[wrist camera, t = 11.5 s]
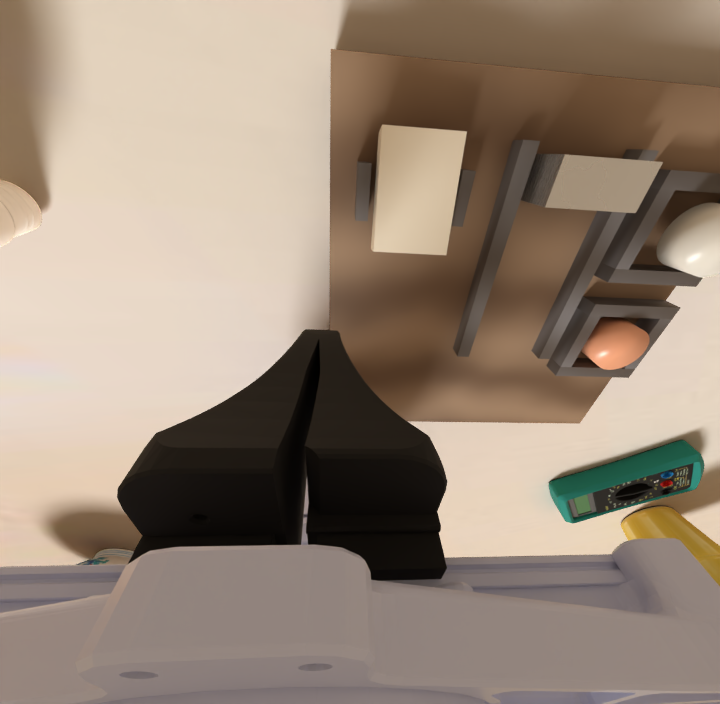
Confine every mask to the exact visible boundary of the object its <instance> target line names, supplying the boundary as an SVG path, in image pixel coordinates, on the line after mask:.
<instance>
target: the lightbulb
mask: <svg viewBox="0 0 720 704" xmlns="http://www.w3.org/2000/svg"><path fill="white" fill-rule="evenodd" d="M41 223H42V214H41V210H40V208H39V206H38V204H37V203H36V201H35V200H34V199H33V198H32V197H31V196H30V195H29V194H28V193H27V192H26V191H24V190H23V189H22V188H20V187H19V186H17V185H15V184H13V183H10V182H8V181H4V180H0V247H2V246H4V245H6V244H8V243H9V242H10V241H11V240H12V239H13V237H17V236H20V235H22V234H26V233H28V232H30V231H33V230H35V229H37V228H38V227H39V226H40V225H41Z"/></svg>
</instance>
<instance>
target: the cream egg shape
mask: <svg viewBox="0 0 720 704" xmlns="http://www.w3.org/2000/svg"><path fill="white" fill-rule="evenodd" d="M657 258H658V260H659V261H660V262H661V263H662V264H664V265H666V266H669V267H672V268H675V269H677V270H680V271H683V272H686V273H688V274H691V275H694V276H697V277H701V278H707V277H713V276H717V275H720V203H713V202H712V203H703V204H700V205H697V206H694V207H692V208H690V209H689V210H687V211H685V212H684V213H682V214H681V215H680V216H678V217H677V218H676V219H675V220H674V221H673V222H672V223H671V224H670V225H669V226H668V227H667V229H666V230H665V231H664V233H663V234H662V236H661V238H660V240H659V242H658V245H657Z"/></svg>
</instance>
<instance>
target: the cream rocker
mask: <svg viewBox="0 0 720 704" xmlns="http://www.w3.org/2000/svg"><path fill="white" fill-rule="evenodd" d="M466 134H467V131H455V130H443V129H431V128H418V127H406V126H394V125H382V126H381V129H380V131H379V134H378V150H377V165H376V180H375V195H374V210H373V225H372V241H371V249H372V251H373V252H391V253H410V254H429V255H446V254H447V248H448V242H449V236H450V230H451V224H452V218H453V212H454V206H455V200H456V194H457V188H458V182H459V176H460V170H461V164H462V158H463V152H464V146H465V140H466Z"/></svg>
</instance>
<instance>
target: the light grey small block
mask: <svg viewBox="0 0 720 704" xmlns="http://www.w3.org/2000/svg"><path fill="white" fill-rule="evenodd" d="M662 163H663V162H656V161H643V160H631V159H618V158H605V157H592V156H579V155H567V154H536V156H535V159H534V162H533V165H532V168H531V171H530V174H529V177H528V180H527V183H526V186H525V189H524V192H523V195H522V198H521V201H525V202H528V203H532V204H535V205H538V206H542V207H546V208H562V209H577V210H593V211H608V212H623V213H636V212H637V210H638V208H639V206H640V204H641V202H642V200H643V199H644V197H645V195H646V193H647V191H648V189H649V188H650V186H651V184H652V182H653V180H654V178H655V176H656V175H657V173H658V171H659V169H660V167H661V165H662Z"/></svg>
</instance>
